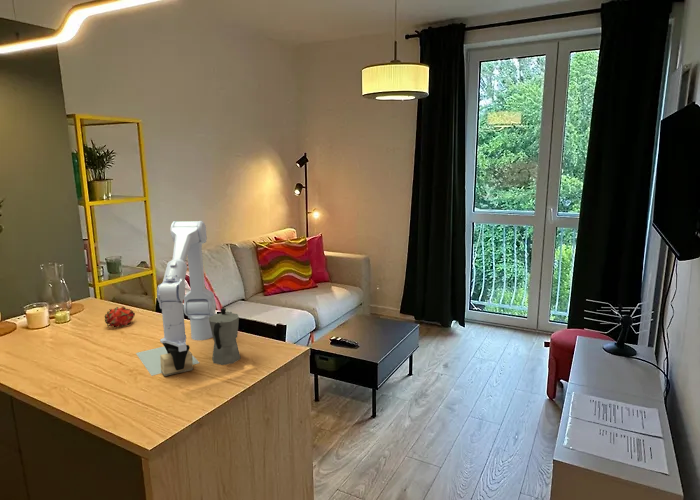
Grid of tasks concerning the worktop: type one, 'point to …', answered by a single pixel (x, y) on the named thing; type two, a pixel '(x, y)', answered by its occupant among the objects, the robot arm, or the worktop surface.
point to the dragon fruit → (119, 317)
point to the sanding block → (168, 364)
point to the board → (155, 359)
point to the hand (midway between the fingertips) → (177, 366)
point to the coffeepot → (225, 337)
